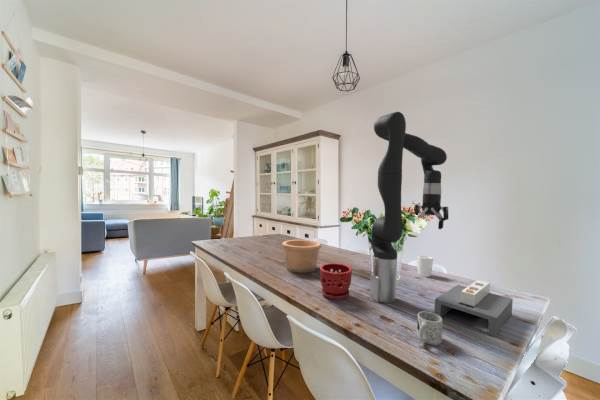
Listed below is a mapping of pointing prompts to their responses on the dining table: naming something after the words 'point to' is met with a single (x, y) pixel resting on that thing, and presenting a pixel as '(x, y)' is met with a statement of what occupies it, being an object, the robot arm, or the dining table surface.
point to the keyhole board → (478, 308)
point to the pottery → (301, 255)
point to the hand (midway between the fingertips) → (430, 228)
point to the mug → (429, 328)
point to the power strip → (475, 293)
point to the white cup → (424, 265)
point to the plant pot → (335, 280)
